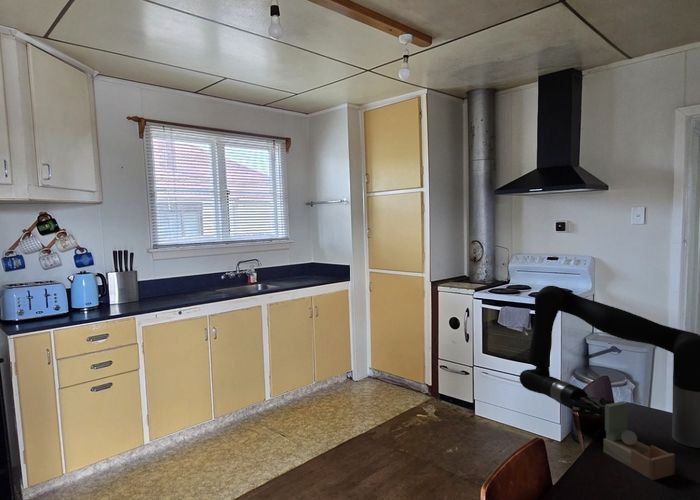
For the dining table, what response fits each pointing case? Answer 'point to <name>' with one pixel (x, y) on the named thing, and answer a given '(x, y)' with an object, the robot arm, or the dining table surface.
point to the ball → (629, 437)
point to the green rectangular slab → (616, 420)
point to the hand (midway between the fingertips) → (612, 416)
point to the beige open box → (624, 450)
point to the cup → (654, 463)
